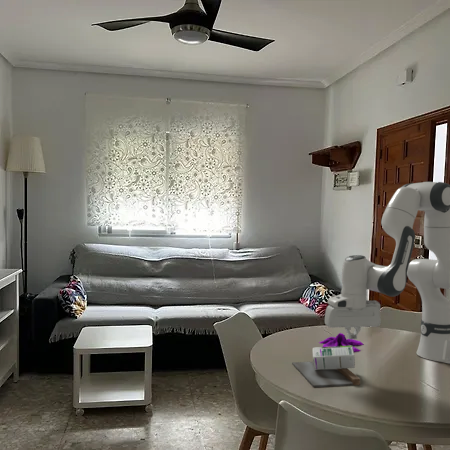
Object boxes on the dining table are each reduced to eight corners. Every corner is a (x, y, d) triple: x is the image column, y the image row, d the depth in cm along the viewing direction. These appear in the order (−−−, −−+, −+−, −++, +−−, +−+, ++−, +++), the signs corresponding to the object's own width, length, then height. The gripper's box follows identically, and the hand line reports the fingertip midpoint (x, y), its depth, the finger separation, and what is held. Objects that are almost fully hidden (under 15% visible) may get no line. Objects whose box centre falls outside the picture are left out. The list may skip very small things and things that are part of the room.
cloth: (363, 342, 203) (363, 328, 203) (366, 355, 185) (367, 340, 184) (312, 338, 208) (312, 325, 207) (311, 351, 190) (311, 336, 189)
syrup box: (354, 355, 159) (312, 356, 162) (355, 368, 161) (313, 370, 164) (352, 345, 165) (311, 346, 167) (353, 358, 167) (313, 359, 169)
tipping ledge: (333, 362, 175) (333, 357, 174) (359, 384, 153) (360, 378, 153) (292, 363, 172) (292, 358, 172) (313, 387, 150) (313, 381, 150)
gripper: (376, 298, 168) (374, 335, 168) (323, 299, 164) (322, 336, 165) (384, 302, 162) (383, 340, 162) (330, 302, 158) (329, 342, 159)
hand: (352, 338), depth 163 cm, fingers closed
